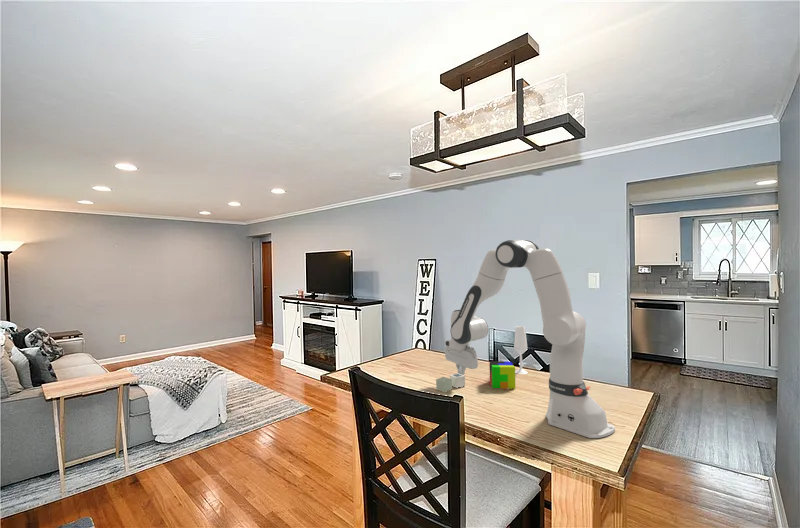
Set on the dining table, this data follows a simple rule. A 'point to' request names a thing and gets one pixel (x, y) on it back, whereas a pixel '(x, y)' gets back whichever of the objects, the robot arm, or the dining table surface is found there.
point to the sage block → (443, 384)
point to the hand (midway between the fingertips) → (461, 374)
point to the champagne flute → (520, 345)
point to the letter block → (457, 380)
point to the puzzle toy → (502, 374)
